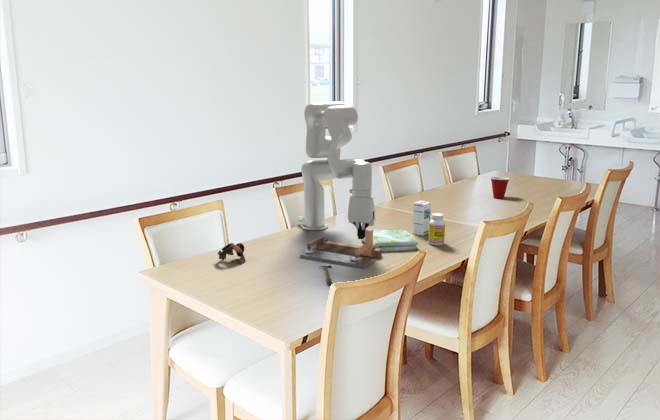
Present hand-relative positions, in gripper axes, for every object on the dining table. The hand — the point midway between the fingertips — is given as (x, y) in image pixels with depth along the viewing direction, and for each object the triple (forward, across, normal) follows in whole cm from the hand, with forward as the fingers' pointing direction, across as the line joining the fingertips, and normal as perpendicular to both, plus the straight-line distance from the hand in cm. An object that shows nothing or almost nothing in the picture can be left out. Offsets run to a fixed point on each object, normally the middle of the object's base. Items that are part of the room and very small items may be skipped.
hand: (361, 238), depth 231 cm
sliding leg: (+6, +3, -4) cm, 8 cm away
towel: (+7, +5, +18) cm, 20 cm away
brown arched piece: (+7, -41, -30) cm, 51 cm away
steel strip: (+7, -6, -11) cm, 14 cm away
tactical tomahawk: (+7, -1, -29) cm, 30 cm away
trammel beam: (+7, -6, -5) cm, 10 cm away
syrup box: (+7, +11, +40) cm, 42 cm away
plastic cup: (+7, +26, +131) cm, 134 cm away
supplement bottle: (+7, +22, +28) cm, 36 cm away
